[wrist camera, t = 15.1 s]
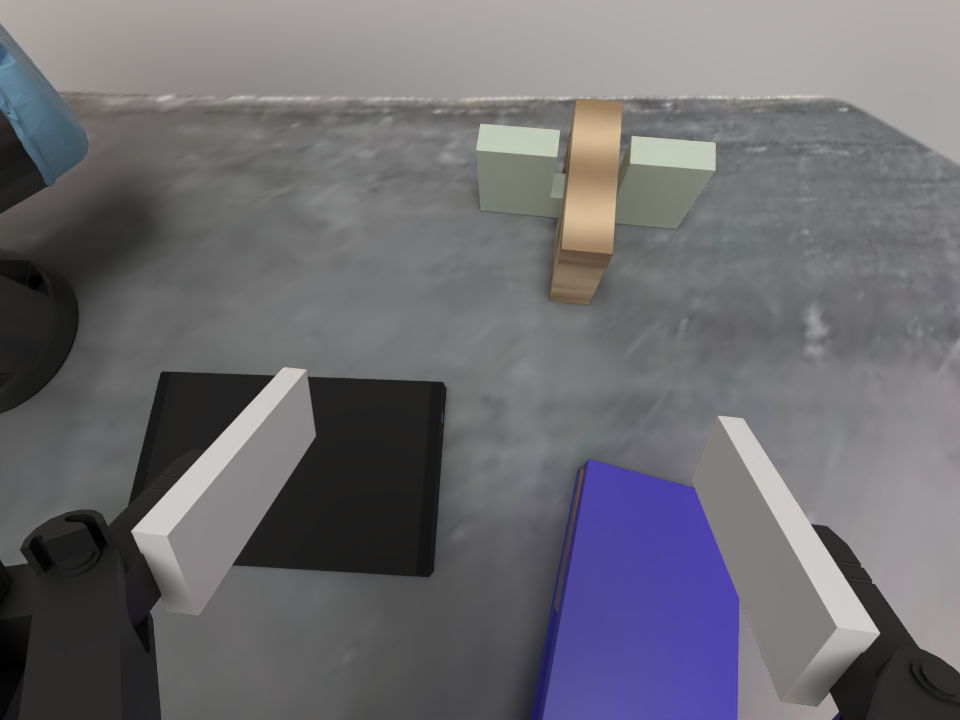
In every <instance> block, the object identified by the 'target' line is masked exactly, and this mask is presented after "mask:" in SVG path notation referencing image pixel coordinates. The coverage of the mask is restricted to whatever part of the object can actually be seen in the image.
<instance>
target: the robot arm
mask: <svg viewBox="0 0 960 720" xmlns="http://www.w3.org/2000/svg"><path fill="white" fill-rule="evenodd" d="M87 150H88V139H87V135H86V133H85V131H84V129H83V127H82V126H81V124H80V123H79V121H78V120H77V118H76V117H75V115H74V114H73V112H72V111H71V110H70V108H69V107H68V106H67V104H66V103H65V102H64V100H63V99H62V98H61V97H60V95H59V94H58V93H57V91H56V90H55V89H54V88H53V86H52V85H51V84H50V83H49V81H48V80H47V79H46V78H45V76H44V75H43V74H42V73H41V71H40V70H39V69H38V68H37V66H36V65H35V64H34V63H33V62H32V60H31V59H30V58H29V57H28V56H27V55H26V53H25V52H24V51H23V49H22V48H21V47H20V46H19V45H18V44H17V42H16V41H15V40H14V39H13V38H12V37H11V35H10V34H9V33H8V32H7V31H6V29H5V28H4V27H3V26H2V25H1V24H0V213H2V212H4V211H6V210H7V209H9V208H11V207H13V206H14V205H16V204H18V203H20V202H21V201H23V200H25V199H26V198H28V197H30V196H32V195H33V194H35V193H37V192H39V191H40V190H42V189H44V188H46V187H50V186H52V185H53V184H54V183H55V179H57V178H58V177H59V176H61V175H62V174H64V173H65V172H66V171H68V170H69V169H71V168H72V167H74V166H75V165H76V164H78V163H79V162H81V161H82V160H83V159H84V156H85V155H86V153H87ZM76 325H77V306H76V301H75V297H74V294H73V292H72V290H71V288H70V286H69V284H68V283H67V282H66V280H65V279H64V278H63V277H62V276H61V275H60V274H59V273H58V272H56V271H55V270H53V269H52V268H50V267H48V266H46V265H44V264H42V263H40V262H38V261H36V260H34V259H32V258H30V257H28V256H25V255H23V254H20V253H17V252H13V251H9V250H4V249H0V413H1V412H3V411H6V410H8V409H10V408H12V407H14V406H16V405H18V404H20V403H22V402H23V401H25V400H26V399H28V398H29V397H30V396H32V395H33V394H34V393H36V392H37V391H38V390H39V389H40V388H41V387H42V386H44V385H45V384H46V383H47V381H48V380H49V379H50V378H51V377H52V376H53V375H54V374H55V372H56V371H57V370H58V368H59V367H60V365H61V364H62V362H63V361H64V359H65V357H66V355H67V353H68V351H69V349H70V347H71V344H72V341H73V338H74V335H75V331H76ZM315 437H316V432H315V425H314V418H313V411H312V404H311V397H310V390H309V383H308V377H307V370H304V369H295V368H286V367H284V368H283V369H282V370H281V371H280V372H279V373H278V374H277V375H276V376H275V377H274V378H273V379H272V380H271V382H270V383H269V384H268V385H267V386H266V387H265V388H264V389H263V390H262V391H261V392H260V393H259V394H258V396H257V397H256V398H255V399H254V400H253V401H252V402H251V403H250V404H249V405H248V406H247V407H246V408H245V409H244V411H243V412H242V413H241V414H240V415H239V416H238V417H237V418H236V419H235V420H234V421H233V422H232V423H231V424H230V426H229V427H228V428H227V429H226V430H225V431H224V432H223V433H222V434H221V435H220V436H219V437H218V438H217V440H216V441H215V442H214V443H213V444H212V445H211V446H210V447H209V448H208V449H207V450H199V449H192V450H190V451H189V452H187V453H185V454H184V455H182V456H180V457H179V458H177V459H175V460H174V461H173V462H172V463H171V464H170V465H169V466H168V467H167V468H166V469H165V470H164V471H163V472H162V473H161V474H160V475H159V478H156V479H155V480H154V481H153V482H152V483H151V484H150V485H149V486H148V487H147V490H144V491H143V492H142V493H141V494H140V495H139V496H138V497H137V498H136V499H135V500H134V501H133V502H132V503H131V504H130V505H129V506H128V507H127V508H126V509H125V510H124V511H123V512H122V513H121V514H120V515H119V516H118V517H117V518H116V519H115V520H114V521H113V522H112V523H111V524H110V525H109V526H108V525H107V523H106V521H105V519H104V517H103V515H102V514H101V513H99V512H97V511H95V510H77V511H72V512H67V513H64V514H62V515H59V516H57V517H55V518H52V519H50V520H48V521H47V522H45V523H44V524H42V525H40V526H39V527H37V528H36V529H35V530H34V531H33V532H32V533H31V534H30V535H29V536H28V537H27V538H26V539H25V540H24V542H23V544H22V546H21V549H20V550H21V552H22V554H23V555H24V557H25V558H26V560H27V561H28V564H21V565H14V566H7V567H5V566H4V565H3V563H2V562H1V560H0V720H161V710H160V698H159V686H158V674H157V662H156V650H155V638H154V626H153V618H152V616H151V614H150V610H151V609H152V607H153V606H154V605H155V603H156V602H157V601H158V599H159V598H160V597H161V598H162V600H163V602H164V604H165V607H166V609H167V611H168V612H175V613H181V614H188V615H195V616H199V615H200V614H201V612H202V611H203V609H204V608H205V606H206V605H207V603H208V602H209V600H210V599H211V597H212V595H213V594H214V592H215V591H216V589H217V588H218V586H219V585H220V583H221V582H222V580H223V578H224V577H225V575H226V574H227V572H228V571H229V569H230V568H231V566H232V565H233V563H234V562H235V560H236V558H237V557H238V555H239V554H240V552H241V551H242V549H243V548H244V546H245V545H246V543H247V541H248V540H249V538H250V537H251V535H252V534H253V532H254V531H255V529H256V528H257V526H258V525H259V523H260V521H261V520H262V518H263V517H264V515H265V514H266V512H267V511H268V509H269V508H270V506H271V504H272V503H273V501H274V500H275V498H276V497H277V495H278V494H279V492H280V491H281V489H282V488H283V486H284V484H285V483H286V481H287V480H288V478H289V477H290V475H291V474H292V472H293V471H294V469H295V467H296V466H297V464H298V463H299V461H300V460H301V458H302V457H303V455H304V454H305V452H306V451H307V449H308V447H309V446H310V444H311V443H312V441H313V440H314V438H315ZM692 483H693V485H694V488H695V490H696V493H697V495H698V498H699V500H700V503H701V505H702V508H703V510H704V513H705V515H706V518H707V520H708V523H709V525H710V528H711V530H712V533H713V535H714V538H715V540H716V543H717V545H718V547H719V550H720V552H721V555H722V557H723V560H724V562H725V565H726V567H727V570H728V572H729V575H730V577H731V580H732V582H733V585H734V587H735V590H736V592H737V595H738V597H739V600H740V602H741V605H742V607H743V610H744V612H745V615H746V617H747V619H748V622H749V624H750V627H751V629H752V632H753V634H754V637H755V639H756V642H757V644H758V647H759V649H760V652H761V654H762V657H763V659H764V662H765V664H766V667H767V669H768V672H769V674H770V677H771V679H772V682H773V684H774V687H775V689H776V692H777V694H778V696H779V699H780V701H782V702H788V703H795V704H802V705H809V706H816V707H817V706H818V705H819V704H820V703H821V702H822V701H823V699H824V698H825V697H826V696H827V695H828V694H829V692H830V693H831V695H832V697H833V699H834V701H835V703H836V705H837V707H838V709H839V712H838V714H837V715H836V716H835V717H834V718H833V719H832V720H960V673H959V672H958V671H957V670H956V669H954V668H953V667H952V666H950V665H949V664H947V663H946V662H945V661H943V660H942V659H941V658H939V657H937V656H935V655H933V654H931V653H929V652H927V651H925V650H923V649H920V648H919V647H918V646H917V644H916V643H915V641H914V640H913V638H912V637H911V636H910V634H909V633H908V631H907V630H906V628H905V627H904V625H903V624H902V623H901V621H900V620H899V618H898V617H897V615H896V614H895V612H894V611H893V610H892V608H891V607H890V605H889V604H888V602H887V601H886V599H885V598H884V597H883V595H882V594H881V592H880V591H879V589H878V588H877V586H876V585H875V584H872V579H871V578H870V576H869V575H868V574H867V572H866V571H865V569H864V568H861V563H860V562H859V561H858V559H857V558H856V556H855V555H854V553H853V552H852V550H851V549H850V548H849V546H848V545H847V544H846V543H845V542H844V541H843V540H842V539H841V538H840V537H839V536H837V535H836V534H835V533H834V532H833V531H832V530H831V529H830V528H828V527H827V526H821V525H813V524H810V523H809V521H808V519H807V518H806V516H805V515H804V513H803V512H802V510H801V508H800V507H799V505H798V504H797V502H796V501H795V499H794V498H793V496H792V494H791V493H790V491H789V490H788V488H787V487H786V485H785V483H784V482H783V480H782V479H781V477H780V476H779V474H778V473H777V471H776V469H775V468H774V466H773V465H772V463H771V462H770V460H769V458H768V457H767V455H766V454H765V452H764V451H763V449H762V447H761V446H760V444H759V443H758V441H757V440H756V438H755V437H754V435H753V433H752V432H751V430H750V429H749V427H748V426H747V424H746V422H745V421H744V419H743V418H734V417H725V416H717V419H716V421H715V424H714V426H713V429H712V431H711V434H710V436H709V439H708V441H707V444H706V446H705V449H704V451H703V454H702V456H701V459H700V462H699V464H698V467H697V469H696V472H695V474H694V477H693V479H692Z"/></svg>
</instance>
